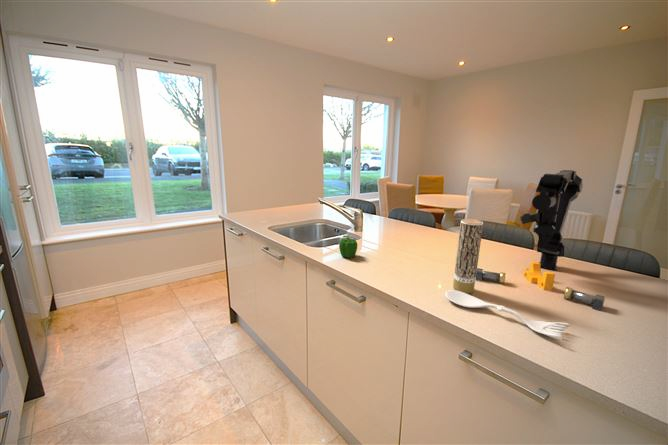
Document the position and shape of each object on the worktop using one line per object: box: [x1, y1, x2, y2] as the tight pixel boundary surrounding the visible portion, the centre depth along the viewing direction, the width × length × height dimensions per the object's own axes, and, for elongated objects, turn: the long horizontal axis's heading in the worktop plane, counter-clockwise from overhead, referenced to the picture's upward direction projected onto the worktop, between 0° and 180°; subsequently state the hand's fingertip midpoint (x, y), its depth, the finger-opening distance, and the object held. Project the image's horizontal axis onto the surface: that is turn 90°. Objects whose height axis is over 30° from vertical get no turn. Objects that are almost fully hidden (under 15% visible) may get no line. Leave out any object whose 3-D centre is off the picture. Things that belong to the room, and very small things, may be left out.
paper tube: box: [452, 218, 484, 294], centre depth 100 cm, size 7×7×25 cm
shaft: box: [563, 286, 606, 312], centre depth 95 cm, size 10×4×4 cm, turn 42°
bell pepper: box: [338, 235, 358, 259], centre depth 135 cm, size 8×8×10 cm
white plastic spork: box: [445, 289, 570, 340], centre depth 87 cm, size 9×32×4 cm, turn 44°
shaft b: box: [475, 267, 506, 285], centre depth 111 cm, size 10×4×4 cm, turn 62°
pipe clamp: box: [523, 261, 556, 292], centre depth 110 cm, size 12×4×6 cm, turn 170°
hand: (541, 246), depth 115 cm, fingers open, 5 cm apart
